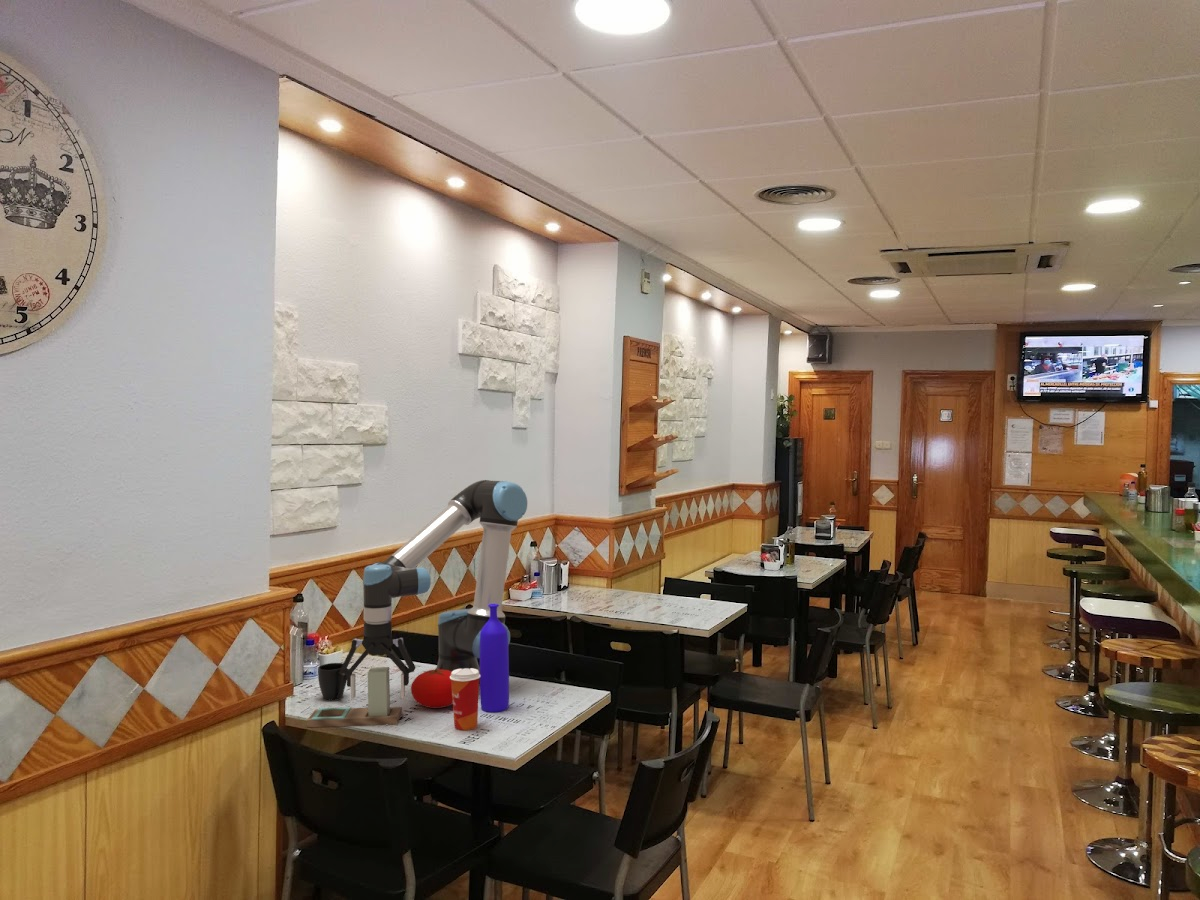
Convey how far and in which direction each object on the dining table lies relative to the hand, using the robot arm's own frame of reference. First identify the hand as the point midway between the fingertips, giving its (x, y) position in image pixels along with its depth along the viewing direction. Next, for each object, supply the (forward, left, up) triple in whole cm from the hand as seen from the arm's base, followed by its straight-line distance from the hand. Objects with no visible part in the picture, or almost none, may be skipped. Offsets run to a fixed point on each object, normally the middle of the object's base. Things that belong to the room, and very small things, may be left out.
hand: (378, 697), depth 245 cm
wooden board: (+6, 0, -6) cm, 9 cm away
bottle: (-32, -7, -6) cm, 33 cm away
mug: (+16, -20, -6) cm, 27 cm away
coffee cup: (-25, +8, -6) cm, 27 cm away
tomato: (-15, -11, -6) cm, 20 cm away
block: (0, 0, -6) cm, 6 cm away
